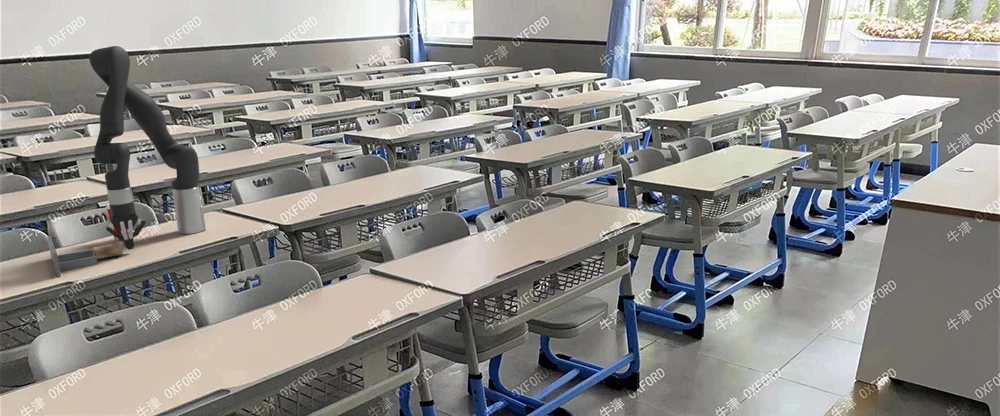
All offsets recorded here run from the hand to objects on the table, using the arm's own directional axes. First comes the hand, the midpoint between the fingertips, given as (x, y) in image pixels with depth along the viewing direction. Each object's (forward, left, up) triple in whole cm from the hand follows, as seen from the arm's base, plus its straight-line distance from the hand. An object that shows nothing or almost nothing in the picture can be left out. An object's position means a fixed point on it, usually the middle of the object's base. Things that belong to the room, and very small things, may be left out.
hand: (130, 248), depth 246 cm
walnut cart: (+7, 0, -2) cm, 7 cm away
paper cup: (-1, -21, -2) cm, 21 cm away
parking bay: (+16, 0, -2) cm, 16 cm away
